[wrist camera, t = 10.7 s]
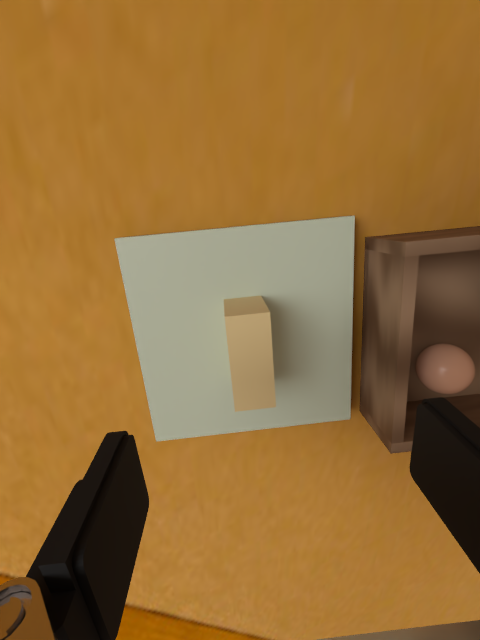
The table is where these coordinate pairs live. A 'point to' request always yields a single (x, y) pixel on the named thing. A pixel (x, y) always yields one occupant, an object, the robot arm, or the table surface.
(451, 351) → the terracotta ball
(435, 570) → the table surface
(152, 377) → the lid
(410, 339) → the walnut box
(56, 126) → the table surface
